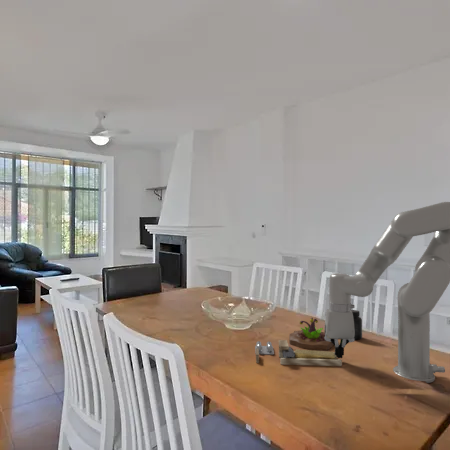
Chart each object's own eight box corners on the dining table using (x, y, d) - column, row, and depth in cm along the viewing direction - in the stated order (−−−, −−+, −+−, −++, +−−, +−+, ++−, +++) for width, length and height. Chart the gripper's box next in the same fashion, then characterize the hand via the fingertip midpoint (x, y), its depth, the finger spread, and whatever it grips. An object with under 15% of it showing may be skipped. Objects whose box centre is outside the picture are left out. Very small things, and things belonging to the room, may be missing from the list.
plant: (284, 347, 147) (284, 320, 147) (292, 333, 165) (292, 309, 165) (334, 353, 140) (334, 325, 140) (337, 338, 158) (337, 313, 158)
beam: (336, 357, 134) (336, 341, 134) (341, 366, 126) (341, 348, 126) (255, 355, 136) (255, 339, 136) (256, 363, 128) (256, 346, 128)
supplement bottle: (364, 337, 158) (364, 310, 158) (358, 341, 153) (358, 313, 153) (349, 334, 163) (349, 308, 163) (343, 337, 158) (343, 311, 158)
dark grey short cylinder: (280, 355, 134) (284, 344, 134) (291, 359, 134) (295, 349, 134) (281, 360, 129) (286, 349, 129) (292, 365, 129) (297, 354, 129)
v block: (255, 347, 146) (255, 340, 146) (272, 347, 145) (272, 341, 145) (255, 354, 138) (255, 347, 138) (274, 354, 137) (274, 347, 137)
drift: (333, 361, 131) (333, 351, 131) (334, 365, 128) (334, 355, 128) (294, 358, 134) (295, 349, 134) (295, 362, 130) (295, 352, 130)
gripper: (357, 305, 133) (356, 354, 134) (317, 304, 135) (316, 352, 135) (363, 310, 126) (363, 361, 126) (321, 309, 127) (320, 360, 127)
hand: (339, 356), depth 130 cm, fingers closed
